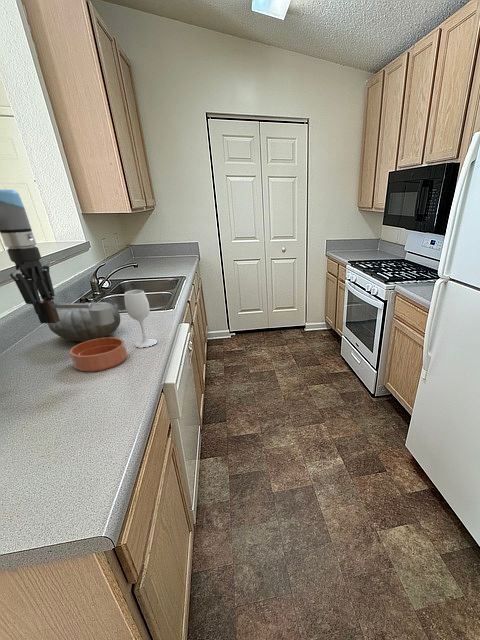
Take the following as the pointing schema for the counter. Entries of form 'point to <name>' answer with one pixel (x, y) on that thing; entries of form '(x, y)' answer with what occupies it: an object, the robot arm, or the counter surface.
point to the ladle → (97, 313)
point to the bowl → (98, 354)
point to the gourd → (82, 323)
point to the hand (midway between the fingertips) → (48, 321)
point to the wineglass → (138, 313)
